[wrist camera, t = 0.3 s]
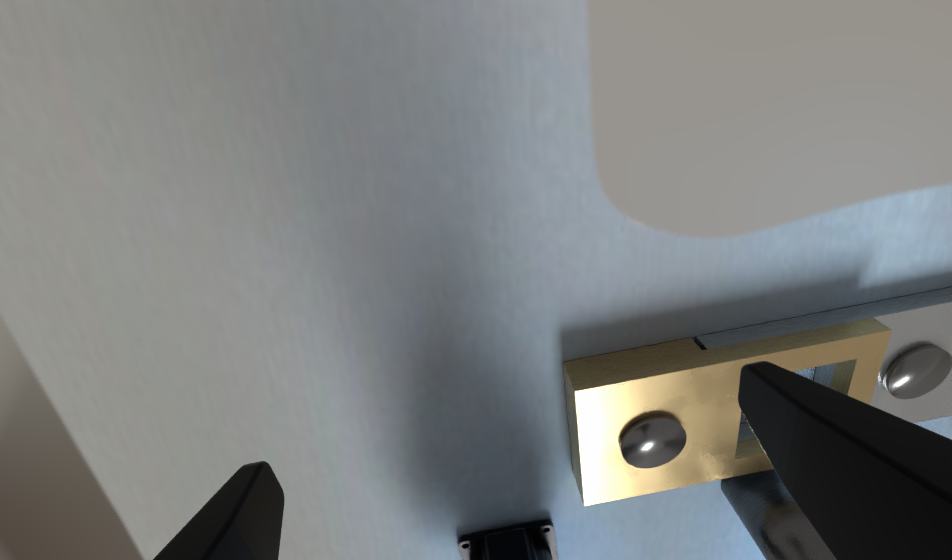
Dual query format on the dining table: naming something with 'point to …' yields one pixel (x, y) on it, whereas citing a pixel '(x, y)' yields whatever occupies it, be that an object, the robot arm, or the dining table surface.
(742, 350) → the upper chain link
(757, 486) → the pin
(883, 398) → the lower chain link
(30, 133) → the dining table surface
